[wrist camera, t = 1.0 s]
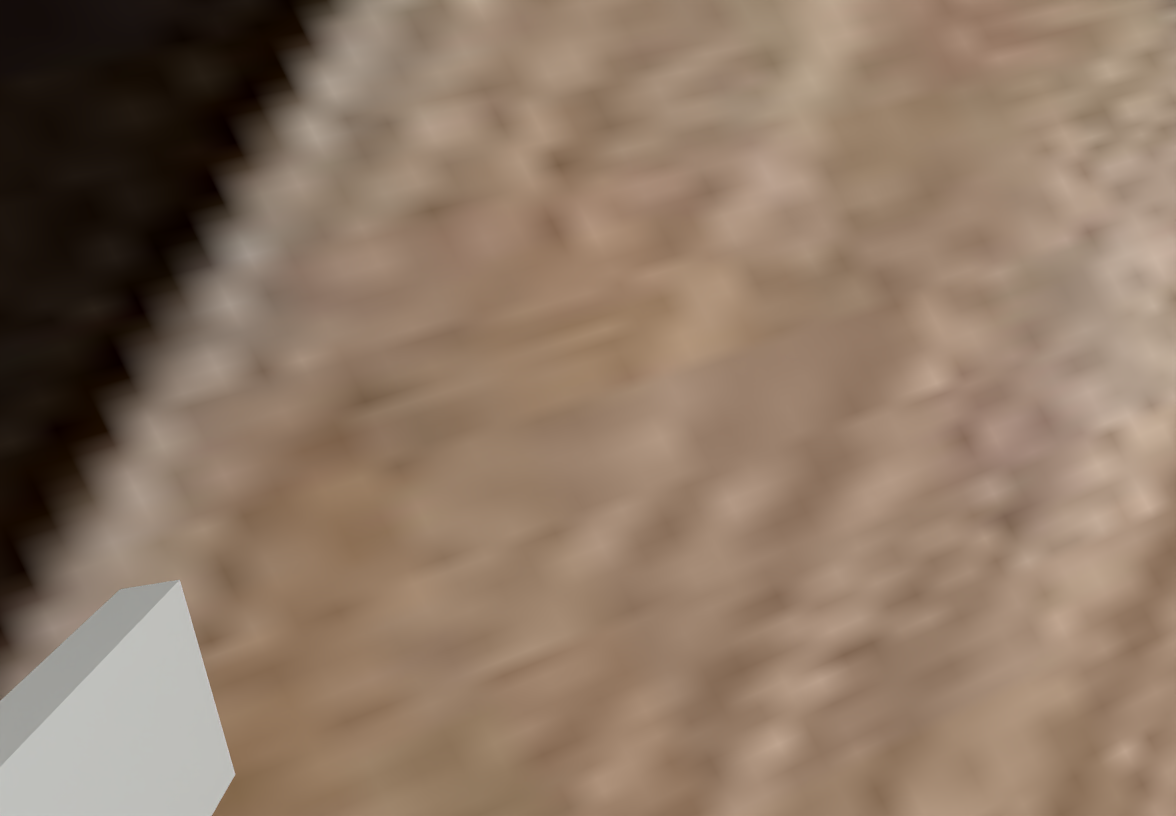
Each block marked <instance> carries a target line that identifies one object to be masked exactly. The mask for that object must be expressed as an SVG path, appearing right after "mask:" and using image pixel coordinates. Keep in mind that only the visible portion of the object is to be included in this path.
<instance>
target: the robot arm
mask: <svg viewBox="0 0 1176 816" xmlns="http://www.w3.org/2000/svg"><path fill="white" fill-rule="evenodd" d="M234 776H235V772H234V768H233V765H232V761H231V758H230V754H229V751H228V747H227V744H226V740H225V737H224V733H223V730H222V726H221V723H220V719H219V716H218V712H217V709H216V705H215V702H214V698H213V695H212V691H211V688H210V684H209V681H208V677H207V674H206V670H205V667H204V663H203V660H202V656H201V653H200V649H199V646H198V642H197V639H196V635H195V632H194V628H193V625H192V621H191V618H190V614H189V611H188V607H187V604H186V600H185V597H184V593H183V589H182V586H181V582H180V580H176V581H169V582H163V583H157V584H151V585H144V586H138V587H132V588H126V589H120V590H119V591H118V592H117V593H116V594H115V595H113V596H112V597H111V598H110V599H109V600H108V601H107V602H106V603H105V604H104V605H103V606H102V607H101V608H100V609H98V610H97V611H96V612H95V613H94V614H93V615H92V616H91V617H90V618H89V619H88V620H87V621H86V622H85V623H83V624H82V625H81V626H80V627H79V628H78V629H77V630H76V631H75V632H74V633H73V634H72V635H71V636H69V637H68V638H67V639H66V640H65V641H64V642H63V643H62V644H61V645H60V646H59V647H58V648H57V649H56V650H54V651H53V652H52V653H51V654H50V655H49V656H48V657H47V658H46V659H45V660H44V661H43V662H42V663H41V664H39V665H38V666H37V667H36V668H35V669H34V670H33V671H32V672H31V673H30V674H29V675H28V676H27V677H25V678H24V679H23V680H22V681H21V682H20V683H19V684H18V685H17V686H16V687H15V688H14V689H13V690H12V691H10V692H9V693H8V694H7V695H6V696H5V697H4V698H3V699H2V700H1V701H0V816H212V814H213V812H214V811H215V809H216V807H217V805H218V804H219V802H220V800H221V798H222V797H223V795H224V793H225V791H226V790H227V788H228V786H229V784H230V783H231V781H232V779H233V777H234Z"/></svg>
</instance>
